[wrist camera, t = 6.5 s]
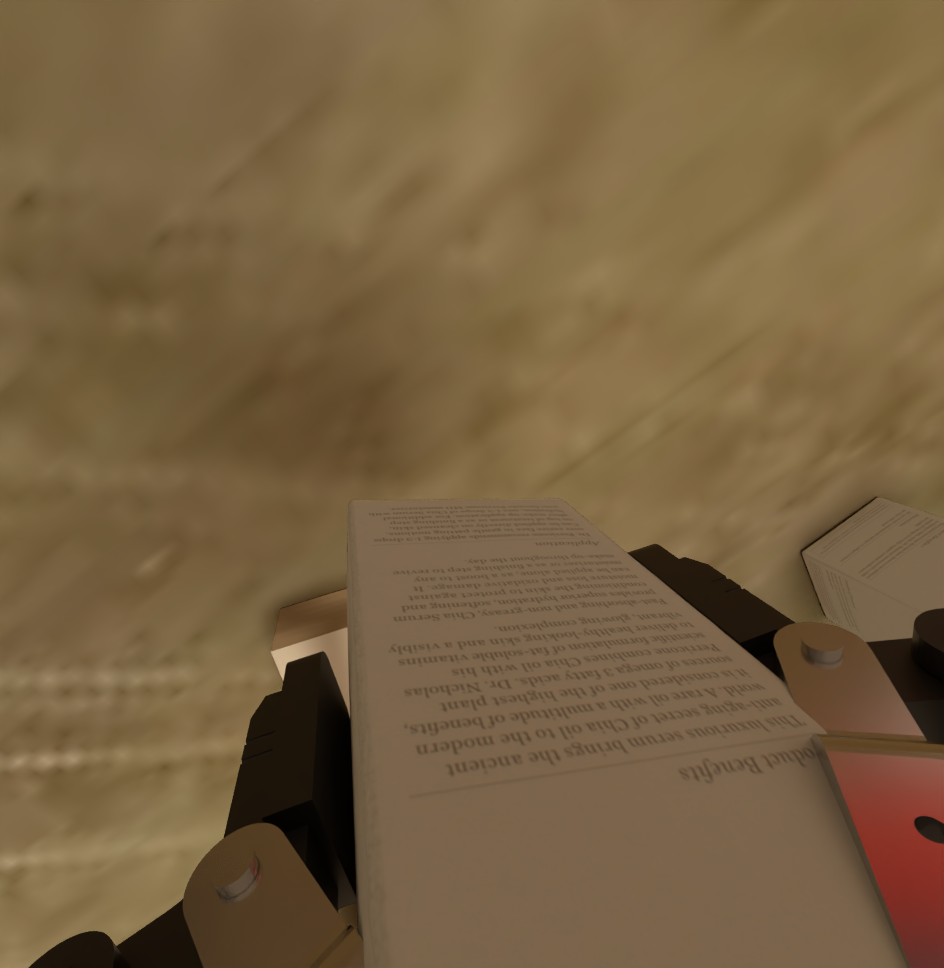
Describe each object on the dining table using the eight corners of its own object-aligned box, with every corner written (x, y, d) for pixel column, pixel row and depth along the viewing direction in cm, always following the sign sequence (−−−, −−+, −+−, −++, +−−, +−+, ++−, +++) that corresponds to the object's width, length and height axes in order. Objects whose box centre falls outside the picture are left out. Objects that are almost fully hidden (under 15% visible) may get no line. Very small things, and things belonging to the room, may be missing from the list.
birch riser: (338, 752, 32) (337, 808, 29) (280, 609, 29) (270, 651, 25) (596, 660, 35) (626, 700, 31) (574, 518, 31) (605, 544, 28)
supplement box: (823, 619, 39) (1027, 746, 28) (797, 550, 37) (1011, 657, 25) (900, 565, 40) (1134, 668, 28) (880, 492, 37) (1131, 572, 25)
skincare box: (346, 640, 14) (355, 1808, 3) (346, 495, 13) (365, 1566, 2) (550, 625, 16) (1056, 1375, 5) (567, 493, 14) (1321, 1079, 3)
